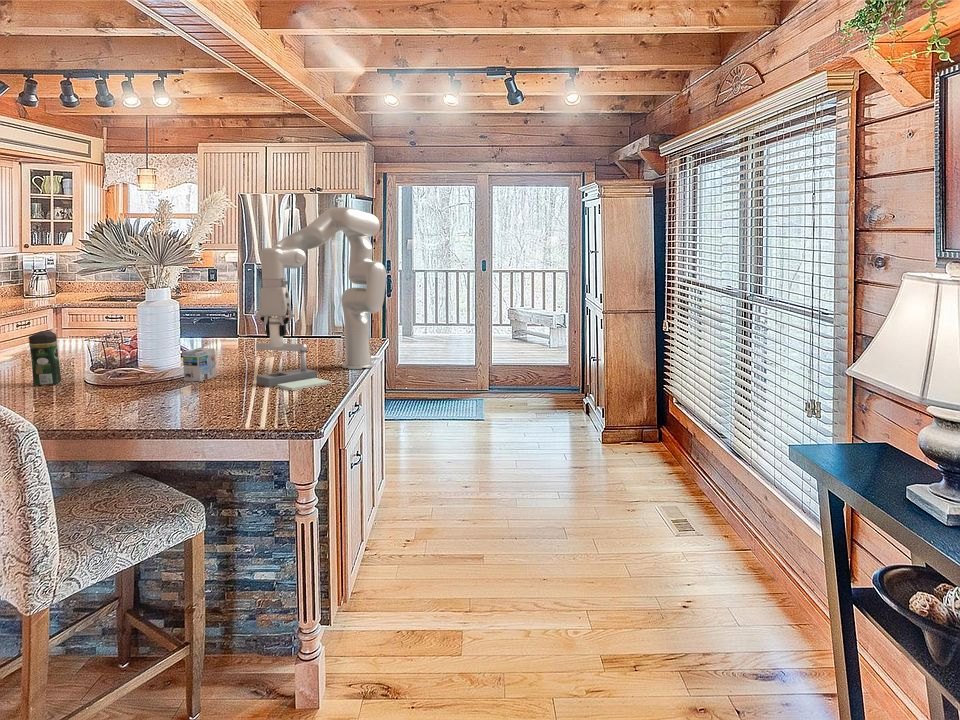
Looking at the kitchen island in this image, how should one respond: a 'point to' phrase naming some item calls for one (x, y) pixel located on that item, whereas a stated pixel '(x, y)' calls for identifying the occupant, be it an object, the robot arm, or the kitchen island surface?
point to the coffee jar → (44, 358)
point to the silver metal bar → (284, 348)
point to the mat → (303, 384)
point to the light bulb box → (199, 364)
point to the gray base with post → (287, 375)
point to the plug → (275, 332)
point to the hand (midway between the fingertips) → (276, 335)
